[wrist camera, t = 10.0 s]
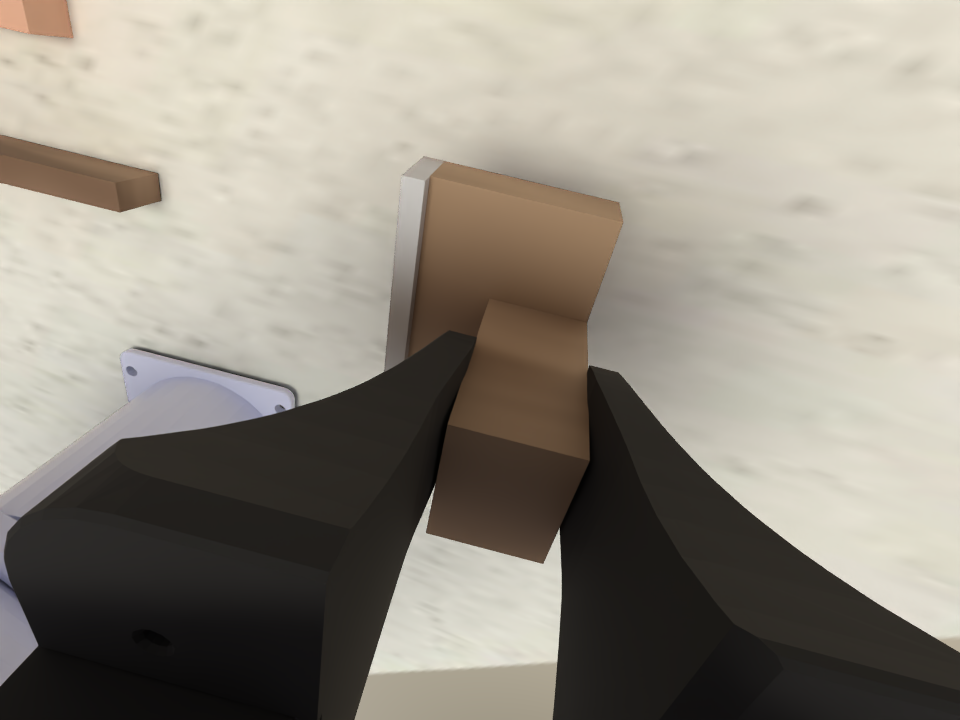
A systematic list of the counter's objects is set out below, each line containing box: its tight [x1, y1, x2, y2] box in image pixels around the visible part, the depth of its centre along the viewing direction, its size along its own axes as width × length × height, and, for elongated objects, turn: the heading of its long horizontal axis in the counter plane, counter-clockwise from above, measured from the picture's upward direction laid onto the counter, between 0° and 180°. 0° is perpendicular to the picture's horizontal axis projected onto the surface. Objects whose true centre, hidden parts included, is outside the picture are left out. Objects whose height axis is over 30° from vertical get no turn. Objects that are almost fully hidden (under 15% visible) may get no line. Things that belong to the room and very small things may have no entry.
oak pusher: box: [384, 156, 623, 564], centre depth 11 cm, size 8×5×6 cm, turn 168°
